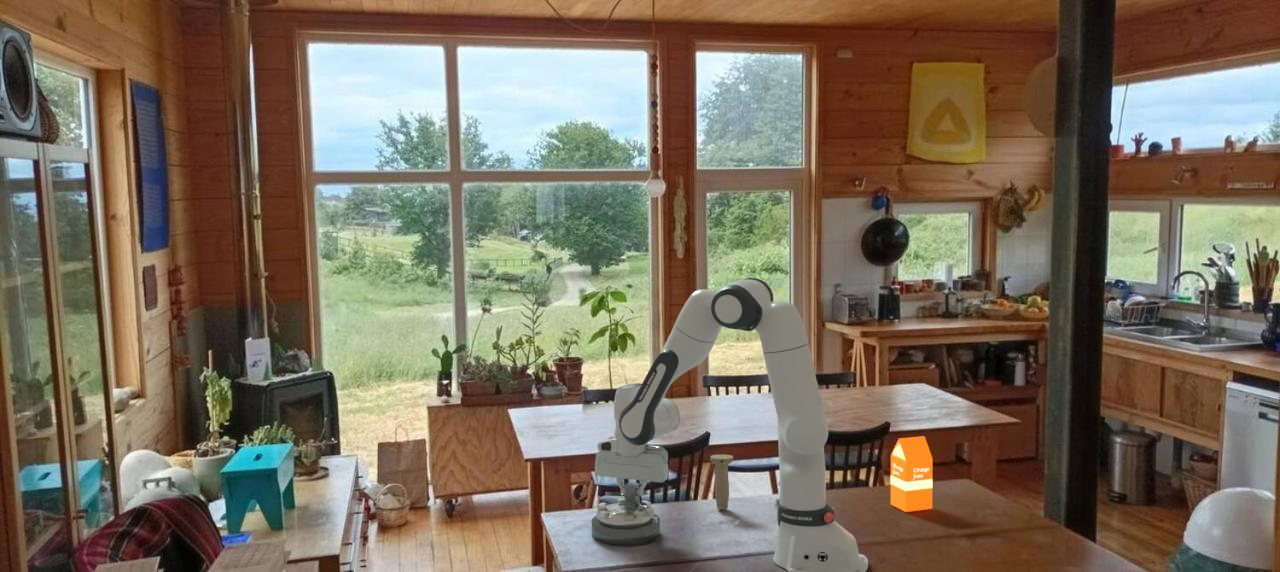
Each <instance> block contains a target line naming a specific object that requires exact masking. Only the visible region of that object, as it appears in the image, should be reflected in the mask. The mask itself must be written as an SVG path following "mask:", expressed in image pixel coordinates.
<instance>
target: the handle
mask: <svg viewBox="0 0 1280 572" xmlns="http://www.w3.org/2000/svg"><path fill="white" fill-rule="evenodd" d="M710 462H711V463H713V464H715V484H714V493H715V495H714V496H715V501H716V509H718V510H727V509H728V508H729V507H728V506H729V500H730V499H729V498H730V496H729V495H730V483H729V465H730V464H732V463H733V462H734V456H733V455H732V454H712V455H710Z"/></svg>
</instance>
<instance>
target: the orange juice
mask: <svg viewBox="0 0 1280 572" xmlns="http://www.w3.org/2000/svg"><path fill="white" fill-rule="evenodd" d="M897 439H898V440H897V442H896V444H895V445H894V447H893V450H892V452H891V454H890V505H891V506H893V507H896V508H897V509H898V510H901V511H903V512H905V513H908V512H909V513H910V512H916V511H924V510H932V509H933V488H934V487H933V456H932V453H931V451H930V447H929V445H928V442H927V439H926V436H924V435H923V436H922V435H921V436H911V437H910V436H909V437H902V438H901V437H899V438H897Z"/></svg>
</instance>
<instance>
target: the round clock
mask: <svg viewBox="0 0 1280 572" xmlns="http://www.w3.org/2000/svg"><path fill="white" fill-rule="evenodd" d="M624 485H625V495H624V498H623V497H622V498H618V499H617V503H616V502H615V503H610V504H607V502H601V503H599V504H597V511H596V515H597V521H598V522H599V523H600V524H602V525H604V526H607V527H612V528H636V527H641V526H645V525H648V524H650V523H651V522H653V517H654V514H655V510H654V509H655V508H653V507H652V502H651V501H648V500H641V499H640V497H641V496H636V489H638V488H640V482H639V483H638V482H628V483H627V482H626V484H624ZM640 500H641V501H640Z"/></svg>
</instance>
